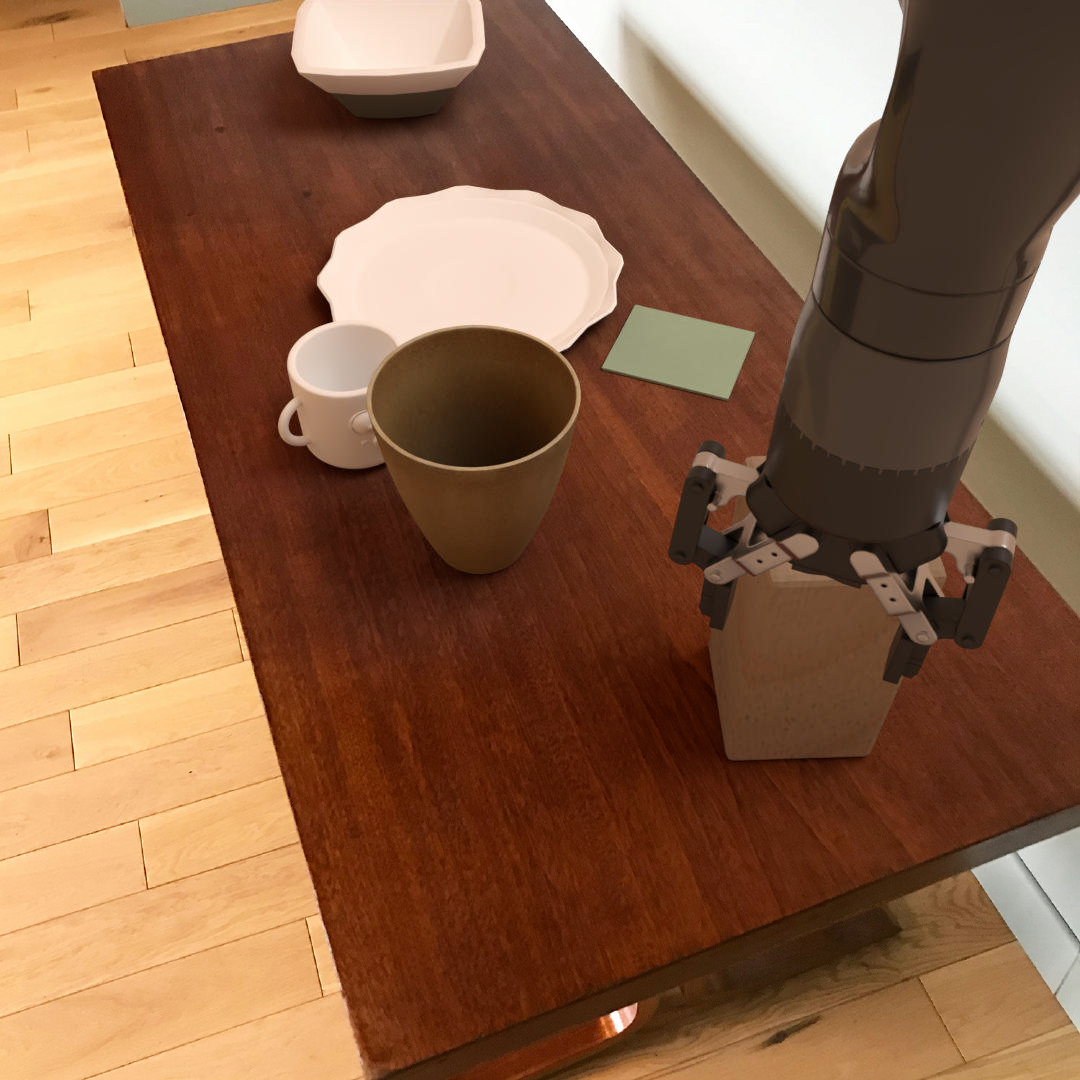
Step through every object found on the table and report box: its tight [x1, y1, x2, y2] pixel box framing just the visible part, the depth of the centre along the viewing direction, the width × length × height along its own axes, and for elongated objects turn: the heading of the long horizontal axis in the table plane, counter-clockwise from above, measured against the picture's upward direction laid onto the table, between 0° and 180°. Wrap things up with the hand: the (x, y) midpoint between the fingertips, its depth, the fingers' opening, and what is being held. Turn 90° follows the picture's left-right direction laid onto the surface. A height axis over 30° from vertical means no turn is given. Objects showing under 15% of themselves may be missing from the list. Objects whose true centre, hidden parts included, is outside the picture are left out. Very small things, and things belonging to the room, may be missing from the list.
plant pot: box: [366, 325, 582, 575], centre depth 83 cm, size 15×15×16 cm
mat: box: [601, 304, 756, 402], centre depth 104 cm, size 12×10×1 cm
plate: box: [316, 185, 625, 354], centre depth 110 cm, size 29×29×2 cm
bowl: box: [290, 0, 486, 119], centre depth 133 cm, size 22×23×8 cm
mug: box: [277, 320, 403, 470], centre depth 93 cm, size 12×10×9 cm
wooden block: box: [707, 455, 947, 762], centre depth 72 cm, size 10×10×20 cm
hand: (805, 641), depth 55 cm, fingers open, 8 cm apart
